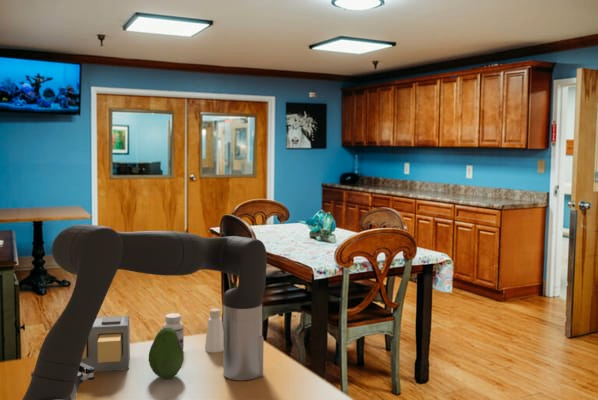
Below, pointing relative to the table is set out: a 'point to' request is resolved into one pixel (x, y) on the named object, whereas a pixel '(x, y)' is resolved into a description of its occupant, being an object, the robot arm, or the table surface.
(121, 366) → the console
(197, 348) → the table surface
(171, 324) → the pill bottle
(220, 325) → the pepper shaker
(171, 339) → the fruit
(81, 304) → the robot arm
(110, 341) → the button
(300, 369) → the table surface
